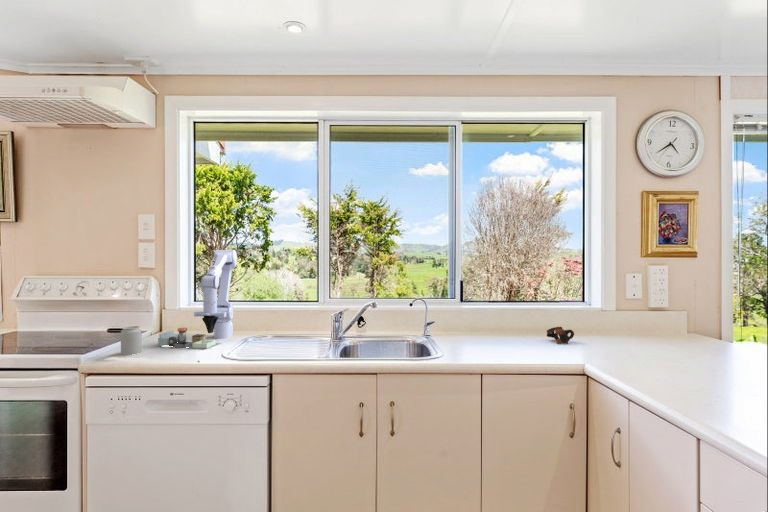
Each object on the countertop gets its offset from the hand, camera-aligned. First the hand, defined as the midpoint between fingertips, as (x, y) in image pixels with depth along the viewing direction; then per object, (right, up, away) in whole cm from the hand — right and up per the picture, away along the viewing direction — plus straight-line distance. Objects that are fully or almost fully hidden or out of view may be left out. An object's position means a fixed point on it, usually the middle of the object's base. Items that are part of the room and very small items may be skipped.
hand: (210, 332), depth 200 cm
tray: (-1, -5, -5) cm, 7 cm away
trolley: (-16, -5, 0) cm, 17 cm away
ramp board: (-9, -6, -2) cm, 11 cm away
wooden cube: (-6, -5, +1) cm, 8 cm away
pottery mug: (+160, -6, +8) cm, 160 cm away
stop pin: (-10, -5, -5) cm, 13 cm away
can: (-26, -7, -16) cm, 32 cm away
